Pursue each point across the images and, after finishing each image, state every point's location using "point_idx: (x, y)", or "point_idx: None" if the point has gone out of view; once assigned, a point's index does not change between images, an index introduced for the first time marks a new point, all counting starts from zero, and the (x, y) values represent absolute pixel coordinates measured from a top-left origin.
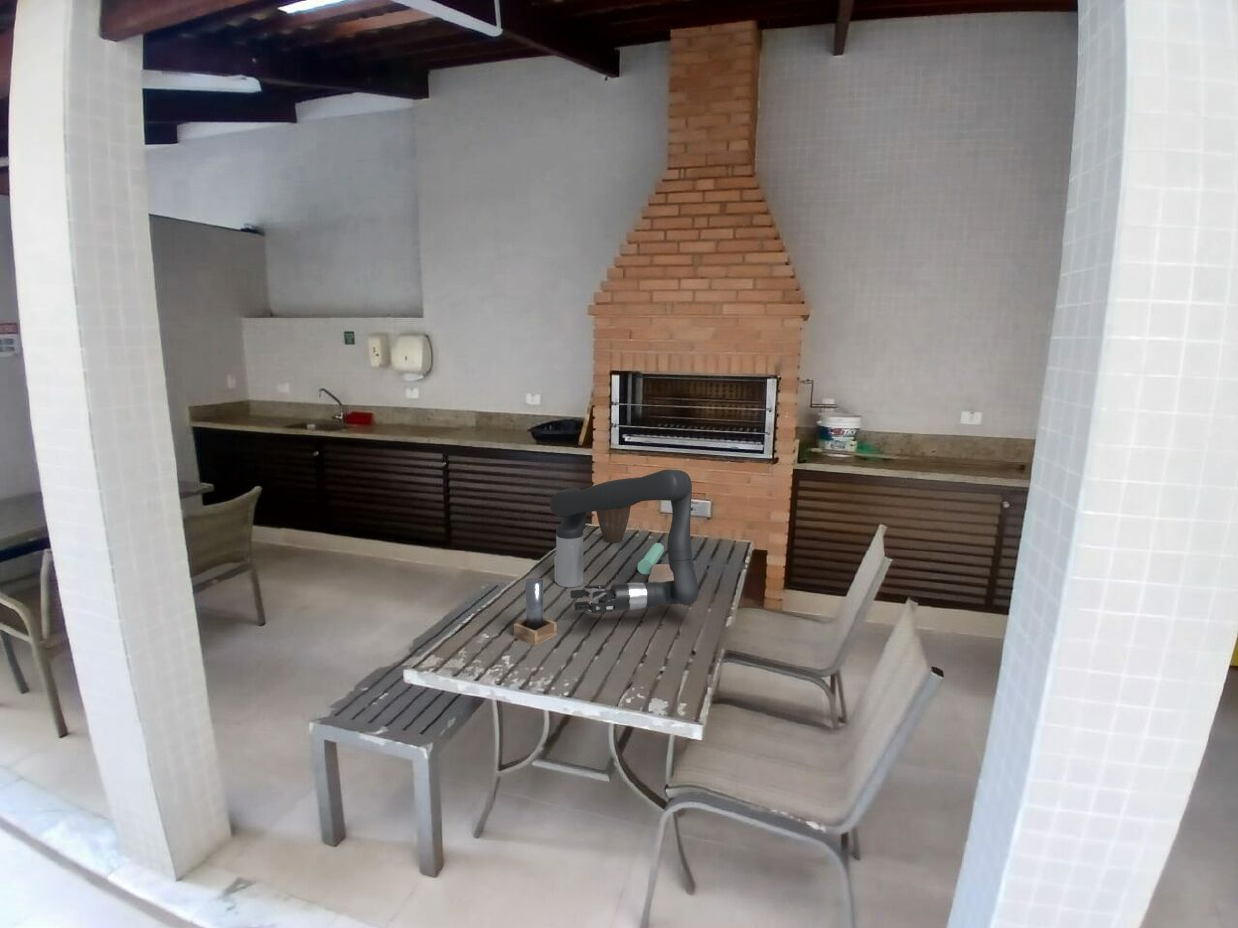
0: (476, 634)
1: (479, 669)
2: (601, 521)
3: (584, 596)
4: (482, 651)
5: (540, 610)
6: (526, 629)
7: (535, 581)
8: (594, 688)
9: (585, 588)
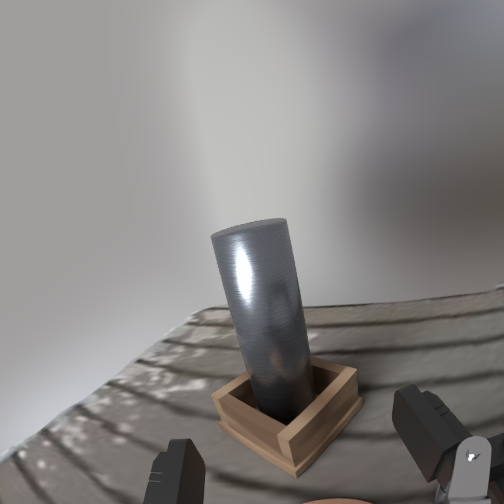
0: (311, 326)
1: (168, 359)
2: None
3: (440, 483)
4: (235, 350)
5: (246, 354)
6: (241, 375)
7: (242, 229)
8: (3, 494)
9: (476, 449)
